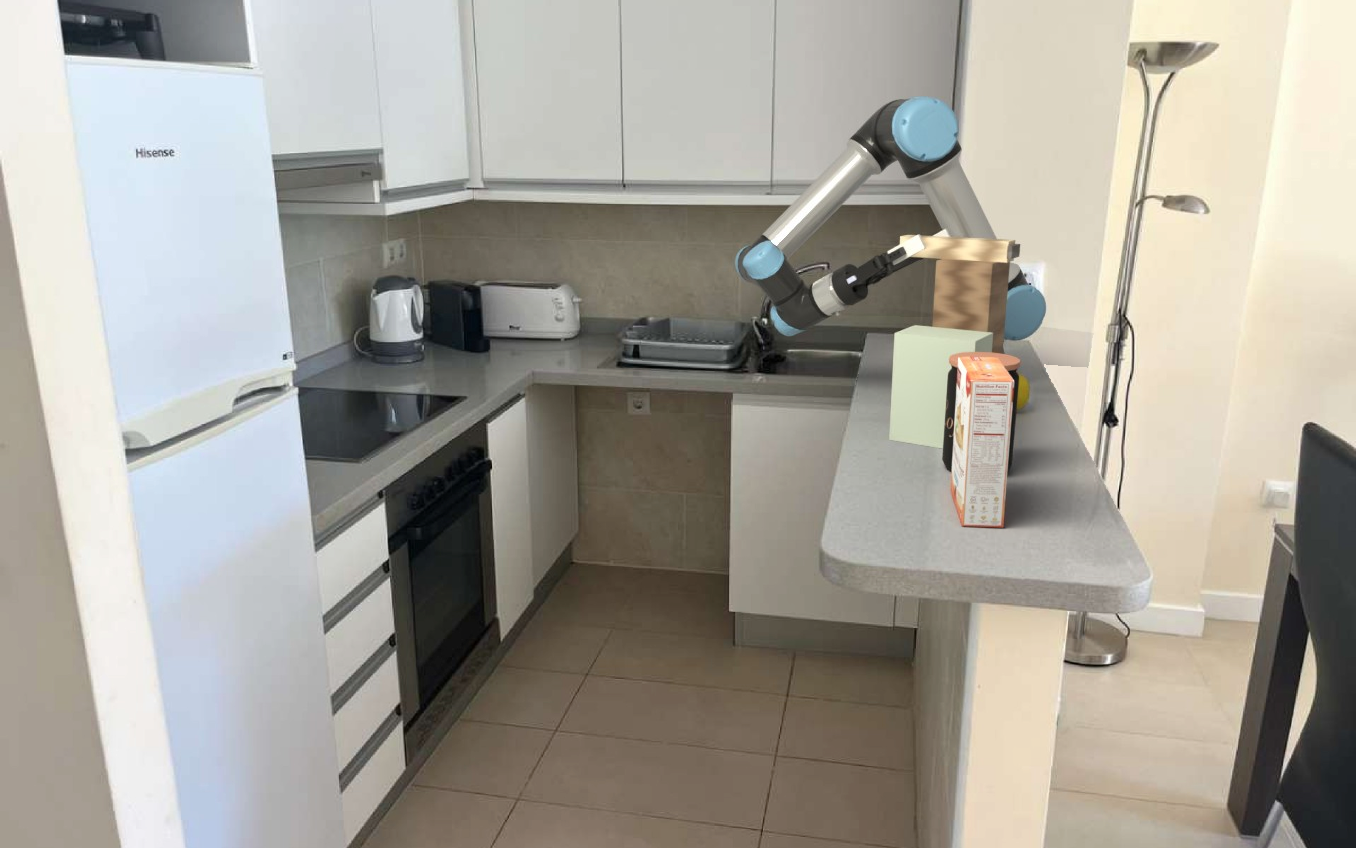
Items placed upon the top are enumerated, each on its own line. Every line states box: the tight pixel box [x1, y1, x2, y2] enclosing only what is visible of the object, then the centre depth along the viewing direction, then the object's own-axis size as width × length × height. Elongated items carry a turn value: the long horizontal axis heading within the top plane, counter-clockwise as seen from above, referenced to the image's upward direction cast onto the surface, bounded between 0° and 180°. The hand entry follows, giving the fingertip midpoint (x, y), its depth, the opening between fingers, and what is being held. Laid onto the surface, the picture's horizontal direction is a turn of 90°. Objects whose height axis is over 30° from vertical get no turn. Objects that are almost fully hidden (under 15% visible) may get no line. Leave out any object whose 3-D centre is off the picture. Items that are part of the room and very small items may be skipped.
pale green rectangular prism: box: [888, 324, 993, 450], centre depth 173 cm, size 14×9×19 cm, turn 55°
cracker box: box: [950, 357, 1014, 529], centre depth 139 cm, size 14×6×21 cm, turn 171°
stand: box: [931, 259, 1010, 354], centre depth 183 cm, size 12×12×30 cm
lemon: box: [1016, 371, 1031, 411], centre depth 191 cm, size 6×6×8 cm
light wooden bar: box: [899, 234, 1021, 263], centre depth 180 cm, size 21×4×4 cm, turn 54°
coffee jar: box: [941, 352, 1021, 473], centre depth 157 cm, size 11×11×18 cm
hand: (936, 237), depth 182 cm, fingers open, 13 cm apart
